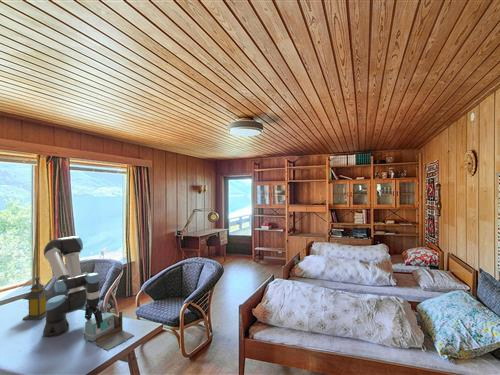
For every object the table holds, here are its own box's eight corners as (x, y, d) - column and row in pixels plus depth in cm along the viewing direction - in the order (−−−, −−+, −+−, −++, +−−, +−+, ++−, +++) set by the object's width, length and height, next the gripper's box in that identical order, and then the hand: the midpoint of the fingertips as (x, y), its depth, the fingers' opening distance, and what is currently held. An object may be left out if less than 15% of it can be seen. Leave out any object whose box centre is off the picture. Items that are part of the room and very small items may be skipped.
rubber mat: (96, 345, 178) (96, 344, 178) (122, 331, 194) (122, 330, 194) (107, 351, 172) (107, 350, 172) (133, 335, 189) (133, 335, 189)
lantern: (40, 320, 209) (39, 280, 208) (21, 320, 210) (20, 280, 209) (53, 311, 223) (52, 274, 223) (36, 311, 224) (35, 274, 223)
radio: (94, 343, 179) (93, 312, 179) (85, 340, 183) (84, 310, 183) (115, 331, 194) (114, 303, 193) (107, 328, 198) (106, 300, 197)
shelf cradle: (84, 337, 187) (83, 316, 186) (109, 325, 202) (108, 306, 202) (97, 343, 179) (97, 322, 179) (122, 330, 195) (122, 311, 195)
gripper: (78, 296, 186) (78, 329, 186) (97, 302, 175) (98, 338, 176) (89, 292, 192) (89, 324, 193) (108, 298, 182) (109, 332, 183)
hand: (93, 331), depth 184 cm, fingers closed on radio, 9 cm apart
